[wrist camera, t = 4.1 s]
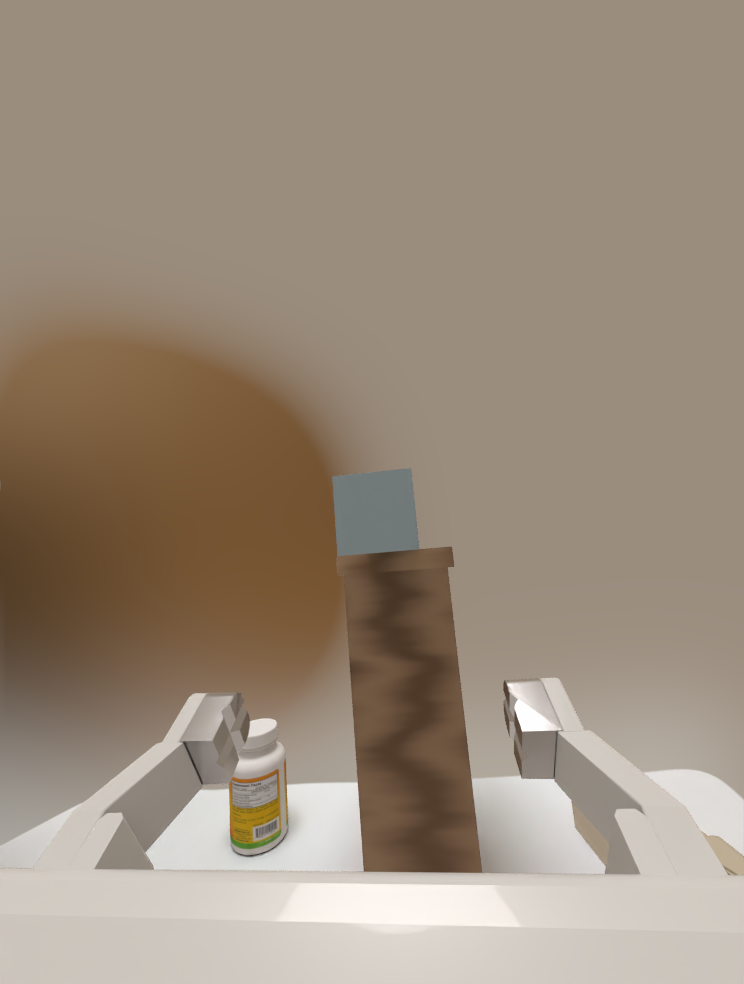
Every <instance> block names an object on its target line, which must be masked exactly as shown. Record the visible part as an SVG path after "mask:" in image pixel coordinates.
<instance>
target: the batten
mask: <svg viewBox="0 0 744 984" xmlns="http://www.w3.org/2000/svg"><path fill="white" fill-rule="evenodd" d="M333 492H334V507H335V520H336V521H335V522H336V538H337V553H338V556H345V555H357V554H369V553H381V552H393V551H405V550H417V549H419V541H418V531H417V522H416V511H415V501H414V492H413V482H412V472H411V468H409V469H399V470H390V471H380V472H371V473H361V474H352V475H343V476H333Z"/></svg>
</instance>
